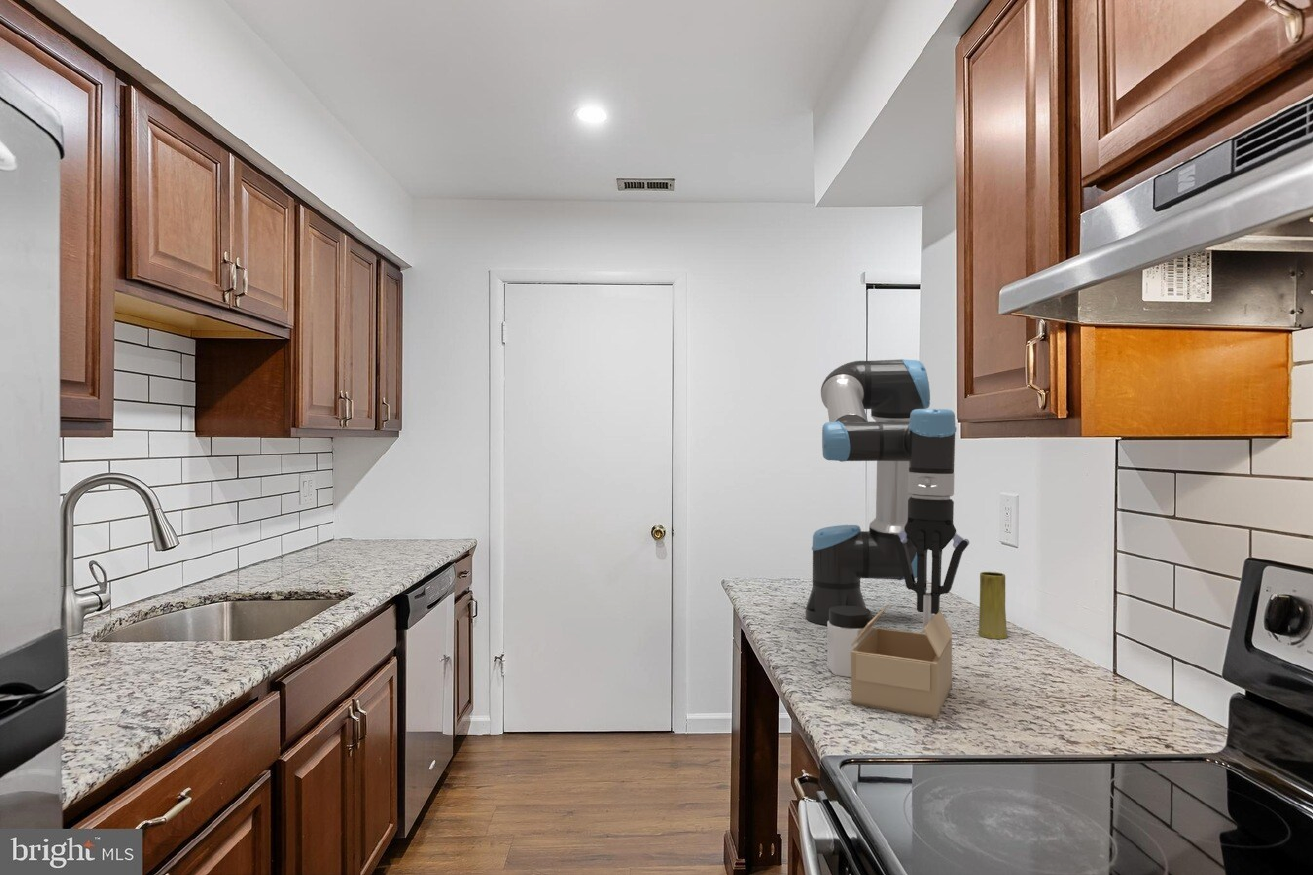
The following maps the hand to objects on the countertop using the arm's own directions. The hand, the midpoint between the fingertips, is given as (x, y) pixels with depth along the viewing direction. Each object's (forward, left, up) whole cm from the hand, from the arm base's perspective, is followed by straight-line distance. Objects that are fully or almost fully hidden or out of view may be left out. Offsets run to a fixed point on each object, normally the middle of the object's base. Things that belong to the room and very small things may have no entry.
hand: (927, 631), depth 128 cm
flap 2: (0, +2, 0) cm, 2 cm away
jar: (-9, -16, -12) cm, 22 cm away
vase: (-49, +6, -12) cm, 51 cm away
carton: (0, -4, -12) cm, 13 cm away
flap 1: (0, -10, 0) cm, 10 cm away
